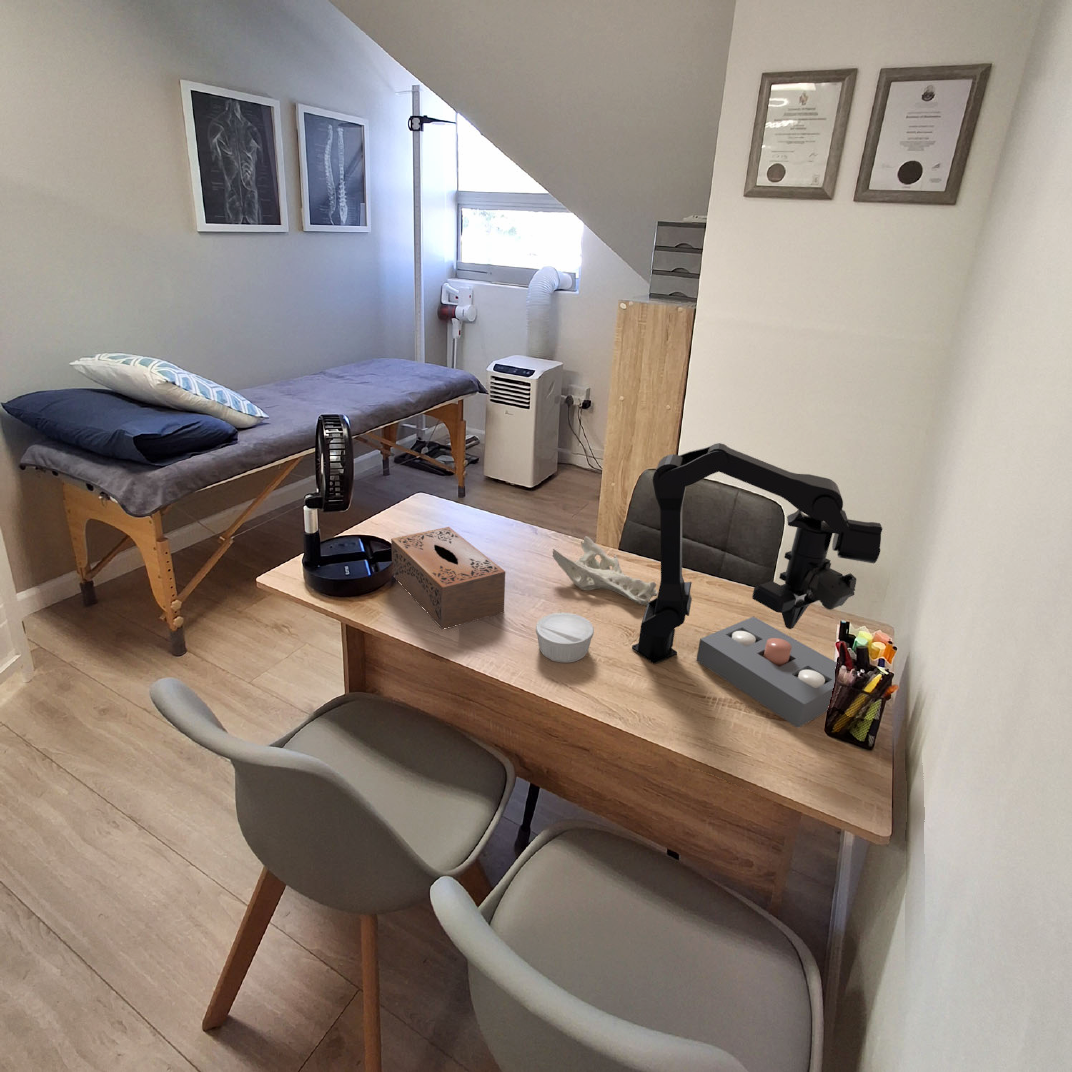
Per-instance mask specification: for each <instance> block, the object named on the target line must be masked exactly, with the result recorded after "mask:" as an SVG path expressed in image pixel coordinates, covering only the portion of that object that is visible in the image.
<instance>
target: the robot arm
mask: <svg viewBox="0 0 1072 1072" xmlns="http://www.w3.org/2000/svg"><path fill="white" fill-rule="evenodd" d="M656 466H657V467H656V469H655V471H654V472H653V476H652V485H653V491H654V496H655V499H656V502H657V506H658V508H659V512H660V513H659V514H660V515H659V516H660V523H659V524H660V583H659V588H658V591H657V592H658V593H657V594H658V595H657V596H656V598H653V599H652V600H650V601H649V602H648V603H647V606H646V605H645V609H644V610H645V611H644V613H643V616H642V621H641V624H640V631H639V637H638V643H636V644H633V645H631V646H632V647H631V649H632V650H633V651H635V652H636V653H638V654H639V655H640V656H641V657H643V658H645V659H646V660H647V661H649V662H650V663H652V664H659V663H660V662H662V661H665V660H667V659H670V658H672V657H674V656H677V654H678V651H677V650H675V649H674V648H673V646H674V638H675V634H676V628H678V627H680V626H682V625H683V624H684V623H685V620H686V617H687V616H688V617H689V616H690V611H691V605H692V601H693V599H692V596H691V588H692V581H685V580H684V576H683V505H684V499H685V496H686V495H685V494H686V490H687V487H689V486H691V485H693V484H696V483H697V482H700V481H702V480H703V479H705V478H707V477H709V476H711V475H713V474H716V473H721V474H724V475H726V476H728V477H731V478H734V479H737V480H739V481H741V482H743V483H746V484H748V485H751V486H753V487H756V488H758V489H760V490H764V491H766V492H769V493H770V494H774V495H776V496H777V497H780V498H783V500H785V501H787V502H788V503H790V504H791V505H792V506H793V507H795V509H797V511H795V512H793V513H790V514H788V515H787V517H786V519H787V521H786V522H787V526H789V527H793V528H796V529H795V534H794V538H793V542H792V546H791V550H789V551H786V552H785V553H784V559H786V560H788V562H787V567H786V570H785V571H783V572H780V573H779V579H780V580H781V581H782V582H783V581H784V583H783V584H779V583H777V582H775V581H774V580H770V581H768V582H765V583H762V584H759V585H756V586H755V587H753V591H752V595H751V597H752V600H754V601H756V602H758V603H759V604H761V605H763V606H765V607H767V609H770V610H772V611H773V612H776V613H779V614H781V616H782V619H783V622H784V626H785V628H786V629H788V630H792V629H794V628H795V626H796V624H797V623H798V622H799V620H800V619H801V617H802V616H803V614H804V613H805V611H806V610H807V609H808V607H809V606H810V605H811V604H814V603H815V602H820V603H821V605H822V606H823V607H824V608H826V610H829V611H830V610H834V609H836V608H837V607H840V606H841V607H842V606H843V605H844V604H845V603H846V601H847V600H848V599H849V598H851V597H854V596H855V592H856V585H857V577H855V576H854V575H853V574H852V573H851V572H849V573H847V574H844V575H843V573H842V572H839V571H838V570H835V569H833V568H831V566H832V562H831V560H830V559H828V558H827V555H828V551H829V548H830V544H831V541H832V544H831V545H832V548H831V549H832V551H834V552H837V553H836V555H837V558H840V559H846V560H850V561H857V562H863V563H868V564H875V563H876V562H877V561H878V559H879V557H880V554H881V544H882V543H881V541H882V532H883V526H882V524H881V523H880V522H874V521H870V522H868V521H867V522H866V521H862V520H861V521H860V520H855V519H849V518H848V517H847V516H848V515H847V513H846V511H845V510H844V509H843V507H844V500H843V496H842V494H841V492H840V491H841V490H840V488H839V486H838V484H837V483H836V481H834V480H833V479H830V478H827V477H823V476H818V475H813V474H810V473H808V474H807V473H795V472H790V471H788V470H785V469H783V468H781V467H778V466H776V465H774V464H770V463H769V462H766V461H764V460H761V459H758V458H756V457H754V456H751V455H748V454H745V453H743V452H741V451H738V450H735V449H734V448H730V447H729V446H727V445H726V444H725V443H721V442H720V443H718V442H717V443H714V444H712V445H710V446H706V447H704V448H703V447H702V448H700V449H696V450H694V449H693V450H690V451H688V452H687V451H686V452H685V453H682V454H680V455H678V454H668V455H666V456H663V457H662V458H661V459H660V460H659V462H658V463H657V465H656ZM833 534H834V535H833ZM832 537H833V538H832ZM832 539H833V540H832Z"/></svg>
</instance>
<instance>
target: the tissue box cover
mask: <svg viewBox="0 0 1072 1072" xmlns="http://www.w3.org/2000/svg"><path fill="white" fill-rule="evenodd" d="M390 540H391V560H392V561H391V563H392V562H393V563H394V574H395V578H396V579H397V580H398V581H399V582H400V583H401V584H402V586H403V587H404V588H405V589H406V590H407V591H406V590H405V589H404V588H403V587H402V586H401V587H402V588H403V589H404V590H405V591H406V593H408V592H409V593H410V594H411V596H412V597H413V598H414V599H415V600H416V601H417V602H418V603H419V604H420V605H421V606H422V607H423V608H424V609H425V610H426V611H425V610H424V609H423V608H422V607H421V606H420V605H419V604H418V603H417V602H416V601H415V600H414V599H413V598H412V599H413V600H414V601H415V602H416V603H417V604H418V605H419V606H420V607H421V608H422V609H423V610H424V611H425V613H427V612H428V613H427V615H428V614H429V615H430V616H431V617H432V618H433V619H434V620H435V621H436V622H437V623H438V624H439V625H440V626H441V627H442V628H441V627H440V626H439V625H438V624H437V623H436V622H435V621H434V620H433V619H432V618H431V617H430V616H429V615H428V616H429V617H430V618H431V619H432V620H433V621H434V622H435V623H436V624H437V625H438V626H439V627H440V628H441V630H443V629H444V628H447V629H449V628H448V627H451V628H454V627H456V626H455V625H458V626H460V625H459V624H461V625H464V623H465V624H467V623H471V622H475V621H477V619H478V620H481V619H484V618H487V617H491V616H492V617H493V616H495V614H496V615H499V614H502V613H505V599H506V598H505V593H506V592H505V588H506V570H504V569H503V568H502V567H500V566H499V565H498V564H496V563H495V562H494V561H493V560H491V559H490V558H489V557H488V556H486V555H485V554H484V553H483V552H482V551H480V549H478V548H476V547H475V546H474V545H472V543H470V542H469V541H467V539H465V538H464V537H462V536H461V535H460V534H459V533H458V532H456V531H455V530H453V529H452V528H451V527H450V526H446V527H442V528H435V529H432V530H428V531H422V532H417V533H413V534H408V535H407V534H406V535H402V536H398V537H393V538H390ZM409 593H408V594H409ZM410 594H409V595H410ZM411 596H410V597H411ZM453 626H454V627H453ZM444 630H445V629H444Z"/></svg>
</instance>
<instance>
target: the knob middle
mask: <svg viewBox="0 0 1072 1072" xmlns="http://www.w3.org/2000/svg"><path fill="white" fill-rule="evenodd" d="M791 648H792V646H791V644H790V643H789V642H787V641H785V640H783V639H779V638H770V639H768V640H767V643H766V647H765V652H764V653H763V656H762V657H764V658H765V659H767V660H769V661H770V662H772V663H774V664H775V665H777V666H779V667H780V666H782V665H784V664H786V663H788V661H789V657H790V653H791Z"/></svg>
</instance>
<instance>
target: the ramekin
mask: <svg viewBox="0 0 1072 1072" xmlns="http://www.w3.org/2000/svg"><path fill="white" fill-rule="evenodd" d="M594 630H595V629H594V626H593V624H592V623H591V621H589V620H588V619H587V618H585V617H583V616H581V615H579V614H575V613H571V612H554V613H550V614H547V615H544V616H543V617H542V618H540V619H539V620H538V621H537V623H536V625H535V634H536V636H537V637H536V638H537V643H538V647H539V650H540V652H541V654H542V655H543V656H544V657H545V658H547V659H548V660H550V661H553V662H557V663H564V664H566V663H568V664H569V663H574V662H578V661H579V660H582V659H583V658H584V657H585V656H586V655H587V653H588V651H589V649H590V645H591V641H592V639H593V637H594V633H595V631H594Z"/></svg>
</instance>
